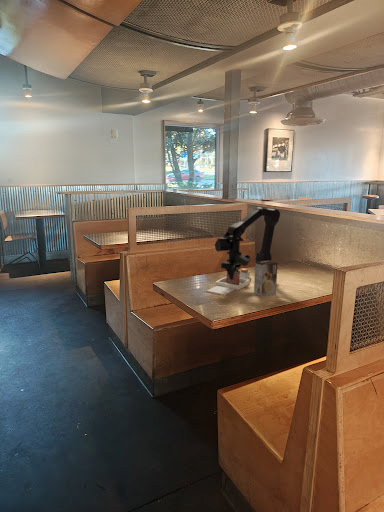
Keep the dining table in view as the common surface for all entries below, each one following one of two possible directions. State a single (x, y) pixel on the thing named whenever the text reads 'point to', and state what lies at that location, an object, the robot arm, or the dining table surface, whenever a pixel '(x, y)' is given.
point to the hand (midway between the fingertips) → (233, 278)
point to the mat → (220, 290)
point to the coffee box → (265, 278)
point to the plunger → (244, 270)
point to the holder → (243, 278)
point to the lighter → (234, 277)
